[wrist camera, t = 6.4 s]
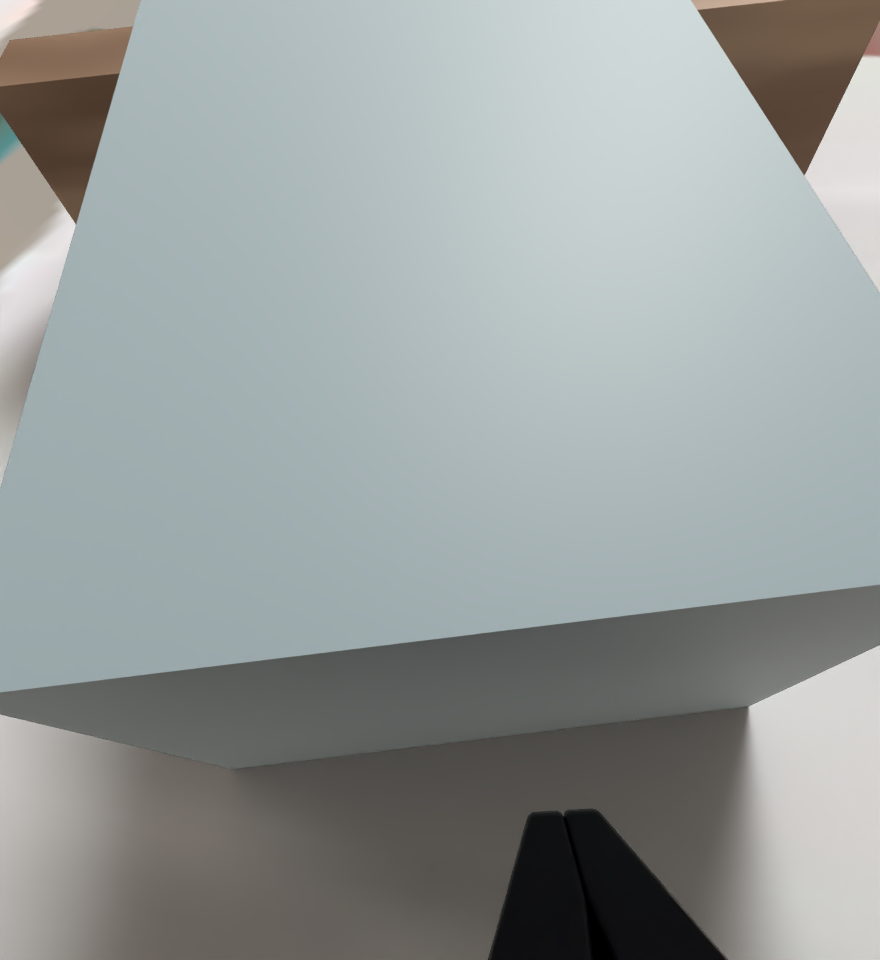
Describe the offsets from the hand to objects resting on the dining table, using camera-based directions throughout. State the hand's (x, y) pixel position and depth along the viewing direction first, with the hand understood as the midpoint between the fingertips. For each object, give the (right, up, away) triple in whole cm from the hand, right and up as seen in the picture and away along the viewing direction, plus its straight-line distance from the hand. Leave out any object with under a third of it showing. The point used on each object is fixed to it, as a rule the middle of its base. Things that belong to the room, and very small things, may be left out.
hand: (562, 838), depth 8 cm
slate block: (-1, +5, +11) cm, 12 cm away
